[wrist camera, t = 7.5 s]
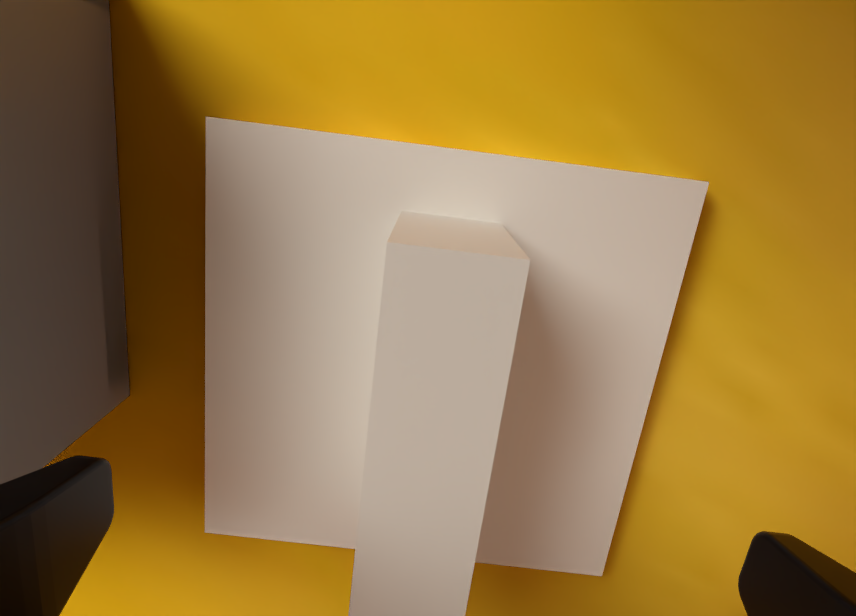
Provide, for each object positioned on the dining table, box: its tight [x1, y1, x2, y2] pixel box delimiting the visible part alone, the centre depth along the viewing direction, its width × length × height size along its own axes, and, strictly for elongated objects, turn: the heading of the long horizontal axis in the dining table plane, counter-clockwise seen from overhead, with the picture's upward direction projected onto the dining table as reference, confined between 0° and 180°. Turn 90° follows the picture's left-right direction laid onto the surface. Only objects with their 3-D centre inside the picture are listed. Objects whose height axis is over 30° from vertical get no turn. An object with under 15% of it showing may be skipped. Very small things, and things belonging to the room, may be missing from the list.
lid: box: [205, 117, 709, 616], centre depth 11 cm, size 10×10×5 cm
